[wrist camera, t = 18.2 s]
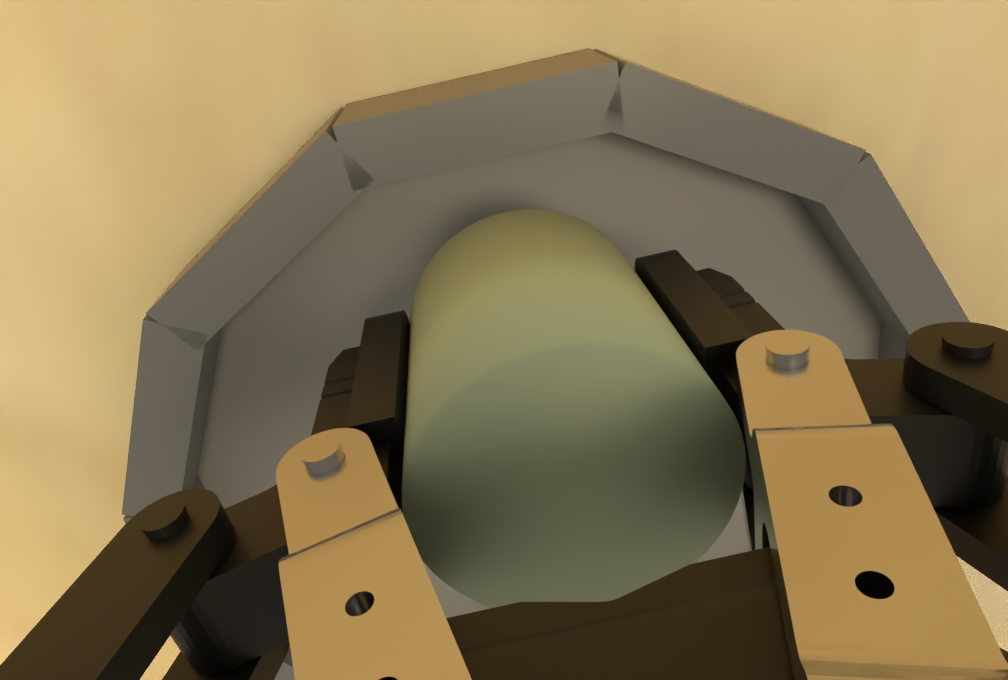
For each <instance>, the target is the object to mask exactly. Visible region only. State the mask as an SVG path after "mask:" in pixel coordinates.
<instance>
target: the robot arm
mask: <svg viewBox="0 0 1008 680" xmlns="http://www.w3.org/2000/svg"><path fill="white" fill-rule="evenodd" d="M635 272H636V274H637V275H638V276H639V278H640V279H641V281H642V282H643V283H644V285H645V286H646V288H647V289H648V291H649V292H650V293H651V295H652V296H653V298H654V299H655V300H656V302H657V303H658V305H659V306H660V308H661V309H662V310H663V312H664V313H665V315H666V316H667V318H668V319H669V320H670V322H671V323H672V325H673V326H674V327H675V329H676V330H677V332H678V333H679V335H680V336H681V337H682V339H683V340H684V342H685V343H686V345H687V346H688V347H689V349H690V350H691V352H692V353H693V354H694V356H695V357H696V359H697V360H698V362H699V363H700V364H701V366H702V367H703V369H704V370H705V372H706V373H707V374H708V376H709V377H710V379H711V380H712V381H713V383H714V384H715V386H716V387H717V389H718V390H719V391H720V393H721V394H722V396H723V397H724V399H725V400H726V402H727V403H728V405H729V406H730V408H731V410H732V411H733V413H734V414H735V417H736V419H737V422H738V424H739V426H740V429H741V432H742V436H743V441H744V445H745V457H746V469H745V477H744V484H743V488H742V491H741V500H742V507H743V514H744V520H745V527H746V534H747V541H748V548H749V551H748V552H743V553H739V554H734V555H730V556H725V557H721V558H716V559H712V560H707V561H703V562H698V563H694V564H689V565H687V566H685V567H683V568H681V569H679V570H677V571H675V572H673V573H670V574H668V575H666V576H664V577H662V578H660V579H658V580H656V581H654V582H651V583H649V584H647V585H645V586H643V587H641V588H639V589H637V590H634V591H632V592H630V593H628V594H626V595H624V596H622V597H620V598H617V599H615V600H611V601H605V602H517V603H513V604H508V605H504V606H499V607H495V608H490V609H486V610H481V611H477V612H472V613H467V614H463V615H458V616H454V617H449V618H446V617H445V614H444V612H443V609H442V607H441V605H440V602H439V600H438V597H437V595H436V593H435V590H434V588H433V585H432V583H431V581H430V578H429V576H428V574H427V571H426V569H425V566H424V564H423V562H422V559H421V557H420V554H419V552H418V550H417V547H416V545H415V542H414V540H413V538H412V535H411V533H410V530H409V528H408V526H407V523H406V521H405V518H404V516H403V511H402V476H403V456H404V436H405V416H406V396H407V376H408V356H409V336H410V322H409V319H408V316H407V314H406V312H405V311H404V310H402V311H397V312H393V313H388V314H384V315H379V316H375V317H371V318H366V319H365V321H364V327H363V332H362V338H361V343H360V346H358V347H353V348H349V349H344V350H343V351H342V352H341V353H340V354H339V355H338V356H337V357H336V359H335V360H334V361H333V362H332V363H331V364H330V365H329V367H328V370H327V374H326V378H325V382H324V383H325V386H323V390H322V394H321V400H320V402H319V406H318V410H317V414H316V417H315V421H314V425H313V429H312V433H311V436H310V437H308V438H306V439H305V440H303V441H301V442H300V443H298V444H297V445H295V446H294V447H293V448H292V449H290V450H289V451H288V452H287V453H286V454H285V455H284V457H283V458H282V459H281V461H280V462H279V464H278V466H277V470H276V481H277V484H276V485H275V486H273V487H271V488H269V489H268V490H266V491H264V492H261V493H259V494H257V495H255V496H253V497H250V498H248V499H246V500H243V501H241V502H239V503H237V504H234V505H232V506H230V507H227V508H225V509H224V508H223V506H222V504H221V502H220V500H219V498H218V496H217V495H216V494H215V493H214V492H212V491H210V490H206V489H198V488H196V489H187V490H183V491H179V492H176V493H172V494H170V495H167V496H165V497H163V498H161V499H159V500H157V501H155V502H153V503H152V504H150V505H148V506H147V507H145V508H144V509H142V510H141V511H140V512H138V513H137V514H136V515H135V516H134V517H132V518H131V519H130V520H129V521H128V522H127V523H126V524H125V526H124V527H123V528H122V529H121V530H120V531H119V532H118V533H117V535H116V536H115V537H114V538H113V539H112V540H111V541H110V542H109V544H108V545H107V546H106V547H105V548H104V549H103V550H102V551H101V553H100V554H99V555H98V556H97V557H96V558H95V559H94V560H93V562H92V563H91V564H90V565H89V566H88V567H87V568H86V569H85V571H84V572H83V573H82V574H81V575H80V576H79V577H78V578H77V580H76V581H75V582H74V583H73V584H72V585H71V586H70V587H69V589H68V590H67V591H66V592H65V593H64V594H63V595H62V597H61V598H60V599H59V600H58V601H57V602H56V603H55V604H54V606H53V607H52V608H51V609H50V610H49V611H48V612H47V613H46V615H45V616H44V617H43V618H42V619H41V620H40V621H39V622H38V624H37V625H36V626H35V627H34V628H33V629H32V630H31V631H30V633H29V634H28V635H27V636H26V637H25V638H24V639H23V640H22V642H21V643H20V644H19V645H18V646H17V647H16V648H15V649H14V651H13V652H12V653H11V654H10V655H9V656H8V657H7V658H6V660H5V661H4V662H3V663H2V664H1V665H0V680H140V678H141V677H142V675H143V674H144V672H145V671H146V669H147V668H148V666H149V665H150V663H151V662H152V661H153V659H154V658H155V656H156V655H157V653H158V652H159V650H160V649H161V647H162V646H163V645H164V643H165V642H166V640H167V639H168V637H169V636H170V635H171V637H172V638H173V640H174V641H175V643H176V644H177V646H178V647H179V649H180V650H181V652H180V653H179V655H178V656H177V658H176V659H175V661H174V662H173V664H172V665H171V667H170V669H169V670H168V672H167V673H166V675H165V676H164V678H163V679H162V680H274V679H275V677H276V675H277V673H278V671H279V669H280V667H281V665H282V663H283V661H284V659H285V657H286V655H287V653H288V650H289V646H290V649H291V656H292V663H293V670H294V677H295V680H1008V652H1007V651H1005V650H1003V649H1001V648H999V646H998V644H997V642H996V640H995V638H994V635H993V633H992V631H991V629H990V627H989V625H988V623H987V621H986V618H985V616H984V614H983V612H982V610H981V608H980V606H979V604H978V602H977V599H976V597H975V595H974V593H973V591H972V589H971V587H970V585H969V582H968V580H967V578H966V576H965V574H964V572H963V570H962V568H961V565H960V563H959V561H958V559H957V557H956V556H958V557H959V558H961V559H962V560H964V561H965V562H966V563H968V564H969V565H971V566H972V567H974V568H975V569H977V570H978V571H979V572H981V573H982V574H984V575H985V576H987V577H988V578H989V579H991V580H992V581H994V582H995V583H997V584H998V585H1000V586H1001V587H1002V588H1004V589H1005V590H1007V591H1008V331H1006V330H1003V329H1000V328H997V327H993V326H989V325H985V324H978V323H970V322H944V323H937V324H932V325H928V326H925V327H922V328H920V329H918V330H916V331H914V332H913V333H912V334H911V335H910V336H909V337H908V339H907V341H906V348H905V357H904V358H890V359H844V358H843V356H842V353H841V351H840V349H839V348H838V346H837V345H836V344H835V343H834V342H832V341H831V340H829V339H828V338H825V337H823V336H821V335H818V334H815V333H811V332H807V331H800V330H785V329H784V328H783V327H782V326H781V325H780V324H779V323H778V322H777V321H776V320H775V319H774V318H773V317H772V316H771V315H770V314H769V313H768V312H767V311H766V310H765V309H764V308H763V307H762V306H761V305H760V304H759V303H758V302H755V299H754V298H753V297H752V296H751V295H750V294H749V293H748V292H745V290H744V288H743V287H742V286H741V285H740V284H739V283H738V282H737V281H736V280H735V279H734V278H733V277H732V276H729V275H727V274H724V273H721V272H719V271H716V270H713V269H711V268H707V269H702V270H698V271H695V269H694V268H693V267H692V266H691V265H690V264H689V263H688V262H687V261H686V260H685V258H684V257H683V256H682V255H681V254H680V253H679V252H678V251H677V250H675V249H674V250H670V251H665V252H661V253H657V254H652V255H648V256H643V257H639V258H636V259H635Z"/></svg>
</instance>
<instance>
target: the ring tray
mask: <svg viewBox="0 0 1008 680" xmlns="http://www.w3.org/2000/svg"><path fill="white" fill-rule="evenodd" d="M865 151H866V150H864V149H862V148H859V147H857V146H854V145H852V144H849V143H846V142H844V141H841V140H839V139H836V138H834V137H831V136H829V135H826V134H824V133H821V132H818V131H816V130H813V129H811V128H808V127H806V126H803V125H800V124H798V123H795V122H792V121H790V120H787V119H784V118H781V117H779V116H776V115H773V114H771V113H768V112H765V111H762V110H760V109H757V108H754V107H752V106H749V105H746V104H743V103H741V102H738V101H735V100H733V99H730V98H727V97H724V96H722V95H719V94H716V93H714V92H711V91H708V90H705V89H703V88H700V87H697V86H695V85H692V84H689V83H686V82H684V81H681V80H678V79H676V78H673V77H670V76H667V75H665V74H662V73H659V72H657V71H654V70H651V69H648V68H646V67H643V66H640V65H638V64H635V63H632V62H629V61H627V60H624V59H621V58H619V57H616V56H613V55H610V54H608V53H605V52H602V51H600V50H597V49H595V51H593V50H590V49H584V50H580V51H576V52H571V53H567V54H562V55H558V56H554V57H549V58H545V59H541V60H536V61H532V62H528V63H523V64H519V65H515V66H510V67H506V68H501V69H497V70H493V71H488V72H484V73H480V74H475V75H471V76H467V77H462V78H458V79H454V80H449V81H445V82H440V83H436V84H432V85H427V86H423V87H419V88H414V89H410V90H406V91H401V92H397V93H393V94H388V95H384V96H379V97H375V98H371V99H366V100H362V101H358V102H353V103H349V104H347V105H346V107H345V108H344V110H343V109H342V108H340V109H339V110H338V111H337V112H336V113H335V114H334V115H333V116H332V117H331V118H330V119H329V120H328V121H327V122H326V123H325V124H324V125H323V126H322V127H321V128H320V129H319V130H318V131H317V133H316V134H315V135H314V136H313V137H312V138H311V139H310V140H309V141H308V142H307V143H306V144H305V145H304V146H303V147H302V148H301V149H300V150H299V151H298V152H297V153H296V154H295V155H294V156H293V157H292V158H291V159H290V160H289V161H288V162H287V163H286V164H285V165H284V166H283V167H282V168H281V169H280V170H279V171H278V172H277V173H276V175H275V176H274V177H273V178H272V179H271V180H270V181H269V182H268V183H267V184H266V185H265V186H264V187H263V188H262V189H261V190H260V191H259V192H258V193H257V194H256V195H255V196H254V197H253V198H252V199H251V200H250V201H249V202H248V203H247V204H246V205H245V206H244V207H243V208H242V209H241V210H240V211H239V212H238V213H237V214H236V216H235V217H234V218H233V219H232V220H231V221H230V222H229V223H228V224H227V225H226V226H225V227H224V228H223V229H222V230H221V231H220V232H219V233H218V234H217V235H216V236H215V237H214V238H213V239H212V240H211V241H210V242H209V243H208V244H207V245H206V246H205V247H204V248H203V249H202V250H201V251H200V252H199V253H198V254H197V255H196V256H195V258H194V259H193V260H192V261H191V262H190V263H189V264H188V265H187V266H186V267H185V268H184V269H183V270H182V272H181V273H180V274H179V275H178V276H177V277H176V279H175V280H174V281H173V282H172V283H171V284H170V286H169V287H168V288H167V289H166V290H165V292H164V293H163V294H162V295H161V296H160V297H159V299H158V300H157V301H156V302H155V303H154V305H153V306H152V307H151V308H150V309H149V310H148V312H147V313H146V314H147V315H146V317H145V318H144V319H143V325H142V335H141V344H140V353H139V362H138V371H137V381H136V390H135V399H134V408H133V417H132V427H131V436H130V445H129V454H128V464H127V473H126V482H125V491H124V500H123V510H122V514H123V515H126V516H125V517H124V519H123V520H124V521H125V523H127V522H128V521H129V520H130V519H131V518H132V517H134V516H135V515H136V514H137V513H138V512H140V511H141V510H142V509H144V508H145V507H147V506H148V505H150V504H152V503H153V502H155V501H157V500H159V499H161V498H163V497H165V496H167V495H170V494H172V493H176V492H179V491H183V490H187V489H196V488H198V489H206V490H210V491H212V492H214V493H215V494H216V495H217V496H218V498H219V500H220V502H221V504H222V506H223V508H224V509H225V508H227V507H230V506H232V505H234V504H237V503H239V502H241V501H243V500H246V499H248V498H250V497H253V496H255V495H257V494H259V493H261V492H264V491H266V490H268V489H269V488H271V487H273V486H275V485H276V484H277V481H276V470H277V466H278V464H279V462H280V461H281V459H282V458H283V457H284V455H285V454H286V453H287V452H288V451H289V450H290V449H292V448H293V447H294V446H295V445H297V444H298V443H300V442H301V441H303V440H305V439H306V438H308V437H310V436H311V433H312V429H313V425H314V421H315V417H316V414H317V410H318V406H319V402H320V400H321V394H322V390H323V386H325V383H324V382H325V378H326V374H327V370H328V367H329V365H330V364H331V363H332V362H333V361H334V360H335V359H336V357H337V356H338V355H339V354H340V353H341V352H342V351H343V350H344V349H349V348H353V347H358V346H360V343H361V338H362V332H363V327H364V321H365V319H366V318H371V317H375V316H379V315H384V314H388V313H393V312H397V311H402V310H404V311H405V312H406V314H407V316H408V319H409V322H410V316H411V307H412V300H413V296H414V293H415V289H416V286H417V284H418V281H419V279H420V277H421V275H422V272H423V271H424V269H425V268H426V266H427V264H428V263H429V261H430V260H431V258H432V257H433V256H434V255H435V254H436V252H437V251H438V250H439V249H440V248H441V247H442V246H443V245H444V244H445V243H446V242H447V241H448V240H449V239H451V238H452V237H453V236H454V235H456V234H457V233H459V232H460V231H462V230H463V229H464V228H466V227H468V226H470V225H472V224H474V223H476V222H477V221H479V220H482V219H485V218H487V217H490V216H493V215H496V214H500V213H504V212H508V211H515V210H524V209H537V210H549V211H555V212H560V213H564V214H567V215H570V216H574V217H576V218H578V219H580V220H583V221H585V222H587V223H589V224H590V225H592V226H593V227H595V228H597V229H598V230H600V231H601V232H602V233H603V234H605V235H606V236H607V237H608V238H609V239H610V240H612V242H613V243H614V244H615V245H616V246H617V247H618V248H619V250H620V251H621V252H622V254H623V255H624V256H625V258H626V259H627V261H628V262H629V264H630V265H631V266H632V268H633V269H634V271H635V259H636V258H639V257H643V256H648V255H652V254H657V253H661V252H665V251H670V250H674V249H675V250H677V251H678V252H679V253H680V254H681V255H682V256H683V257H684V258H685V260H686V261H687V262H688V263H689V264H690V265H691V266H692V267H693V268H694V269H695V271H698V270H702V269H707V268H711V269H713V270H716V271H719V272H721V273H724V274H727V275H729V276H732V277H733V278H734V279H735V280H736V281H737V282H738V283H739V284H740V285H741V286H742V287H743V288H744V290H745V292H748V293H749V294H750V295H751V296H752V297H753V298H754V299H755V302H758V303H759V304H760V305H761V306H762V307H763V308H764V309H765V310H766V311H767V312H768V313H769V314H770V315H771V316H772V317H773V318H774V319H775V320H776V321H777V322H778V323H779V324H780V325H781V326H782V327H783V328H784V329H785V330H800V331H807V332H811V333H815V334H818V335H821V336H823V337H825V338H828V339H829V340H831V341H832V342H834V343H835V344H836V345H837V346H838V348H839V349H840V351H841V353H842V356H843V358H844V359H890V358H904V357H905V348H906V341H907V339H908V337H909V336H910V335H911V334H912V333H913V332H914V331H916V330H918V329H920V328H922V327H925V326H928V325H932V324H937V323H944V322H969V320H968V318H967V316H966V315H965V313H964V311H963V310H962V308H961V306H960V305H959V303H958V301H957V300H956V298H955V296H954V294H953V293H952V291H951V289H950V288H949V286H948V284H947V283H946V281H945V279H944V277H943V276H942V274H941V272H940V271H939V269H938V267H937V266H936V264H935V262H934V261H933V259H932V257H931V255H930V254H929V252H928V250H927V249H926V247H925V245H924V244H923V242H922V240H921V238H920V237H919V235H918V233H917V232H916V230H915V228H914V227H913V225H912V223H911V222H910V220H909V218H908V216H907V215H906V213H905V211H904V210H903V208H902V206H901V205H900V203H899V201H898V200H897V198H896V196H895V194H894V193H893V191H892V189H891V188H890V186H889V184H888V183H887V181H886V179H885V177H884V176H883V174H882V172H881V171H880V169H879V167H878V166H877V164H876V162H875V161H874V159H873V157H872V155H871V154H869V153H866V152H865ZM748 551H749V548H748V541H747V534H746V527H745V520H744V514H743V507H742V500H741V495H740V499H739V501H738V504H737V506H736V508H735V511H734V513H733V515H732V517H731V519H730V520H729V522H728V524H727V525H726V527H725V529H724V530H723V532H722V533H721V535H720V536H719V537H718V539H717V540H716V541H715V542H714V544H713V545H712V546H711V547H710V548H709V549H708V550H707V551H706V552H705V553H704V555H703V556H702V557H701V558H700V559H699V560H698V561H696V562H695V563H698V562H703V561H707V560H712V559H716V558H721V557H725V556H730V555H734V554H739V553H743V552H748ZM422 562H423V564H424V566H425V569H426V571H427V574H428V576H429V578H430V581H431V583H432V585H433V588H434V590H435V593H436V595H437V597H438V600H439V602H440V605H441V607H442V609H443V612H444V614H445V617H446V618H449V617H454V616H458V615H463V614H467V613H472V612H477V611H481V610H486V609H490V608H492V607H490V606H487V605H484V604H482V603H479V602H476V601H474V600H472V599H470V598H468V597H466V596H464V595H462V594H460V593H459V592H457V591H456V590H454V589H453V588H451V587H450V586H448V585H447V584H446V583H444V582H443V581H442V580H441V579H440V578H439V577H438V576H436V575H435V574H434V573H433V572H432V571H431V570H430V569H429V567H428V566H427V565H426V564H425V563H424V561H423V560H422ZM274 680H295V677H294V670H293V663H292V656H291V649H290V646H289V650H288V653H287V655H286V657H285V659H284V661H283V663H282V665H281V667H280V669H279V671H278V673H277V675H276V677H275V679H274Z"/></svg>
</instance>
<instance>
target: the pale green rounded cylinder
mask: <svg viewBox="0 0 1008 680" xmlns="http://www.w3.org/2000/svg"><path fill="white" fill-rule="evenodd" d="M745 469H746V457H745V445H744V441H743V436H742V432H741V429H740V426H739V424H738V422H737V419H736V417H735V414H734V413H733V411H732V410H731V408H730V406H729V405H728V403H727V402H726V400H725V399H724V397H723V396H722V394H721V393H720V391H719V390H718V389H717V387H716V386H715V384H714V383H713V381H712V380H711V379H710V377H709V376H708V374H707V373H706V372H705V370H704V369H703V367H702V366H701V364H700V363H699V362H698V360H697V359H696V357H695V356H694V354H693V353H692V352H691V350H690V349H689V347H688V346H687V345H686V343H685V342H684V340H683V339H682V337H681V336H680V335H679V333H678V332H677V330H676V329H675V327H674V326H673V325H672V323H671V322H670V320H669V319H668V318H667V316H666V315H665V313H664V312H663V310H662V309H661V308H660V306H659V305H658V303H657V302H656V300H655V299H654V298H653V296H652V295H651V293H650V292H649V291H648V289H647V288H646V286H645V285H644V283H643V282H642V281H641V279H640V278H639V276H638V275H637V274H636V272H635V271H634V269H633V268H632V266H631V265H630V264H629V262H628V261H627V259H626V258H625V256H624V255H623V254H622V252H621V251H620V250H619V248H618V247H617V246H616V245H615V244H614V243H613V242H612V240H610V239H609V238H608V237H607V236H606V235H605V234H603V233H602V232H601V231H600V230H598V229H597V228H595V227H593V226H592V225H590V224H589V223H587V222H585V221H583V220H580V219H578V218H576V217H574V216H570V215H567V214H564V213H560V212H555V211H549V210H537V209H524V210H515V211H508V212H504V213H500V214H496V215H493V216H490V217H487V218H485V219H482V220H479V221H477V222H476V223H474V224H472V225H470V226H468V227H466V228H464V229H463V230H462V231H460V232H459V233H457V234H456V235H454V236H453V237H452V238H451V239H449V240H448V241H447V242H446V243H445V244H444V245H443V246H442V247H441V248H440V249H439V250H438V251H437V252H436V254H435V255H434V256H433V257H432V258H431V260H430V261H429V263H428V264H427V266H426V268H425V269H424V271H423V272H422V275H421V277H420V279H419V281H418V284H417V286H416V289H415V293H414V296H413V300H412V307H411V316H410V336H409V356H408V376H407V396H406V416H405V436H404V456H403V476H402V511H403V516H404V518H405V521H406V523H407V526H408V528H409V530H410V533H411V535H412V538H413V540H414V542H415V545H416V547H417V550H418V552H419V554H420V557H421V559H422V560H423V561H424V563H425V564H426V565H427V566H428V567H429V569H430V570H431V571H432V572H433V573H434V574H435V575H436V576H438V577H439V578H440V579H441V580H442V581H443V582H444V583H446V584H447V585H448V586H450V587H451V588H453V589H454V590H456V591H457V592H459V593H460V594H462V595H464V596H466V597H468V598H470V599H472V600H474V601H476V602H479V603H482V604H484V605H487V606H490V607H492V608H495V607H499V606H504V605H508V604H513V603H517V602H605V601H611V600H615V599H617V598H620V597H622V596H624V595H626V594H628V593H630V592H632V591H634V590H637V589H639V588H641V587H643V586H645V585H647V584H649V583H651V582H654V581H656V580H658V579H660V578H662V577H664V576H666V575H668V574H670V573H673V572H675V571H677V570H679V569H681V568H683V567H685V566H687V565H689V564H694V563H695V562H696V561H698V560H699V559H700V558H701V557H702V556H703V555H704V553H705V552H706V551H707V550H708V549H709V548H710V547H711V546H712V545H713V544H714V542H715V541H716V540H717V539H718V537H719V536H720V535H721V533H722V532H723V530H724V529H725V527H726V525H727V524H728V522H729V520H730V519H731V517H732V515H733V513H734V511H735V508H736V506H737V504H738V501H739V499H740V495H741V491H742V488H743V484H744V477H745Z"/></svg>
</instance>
